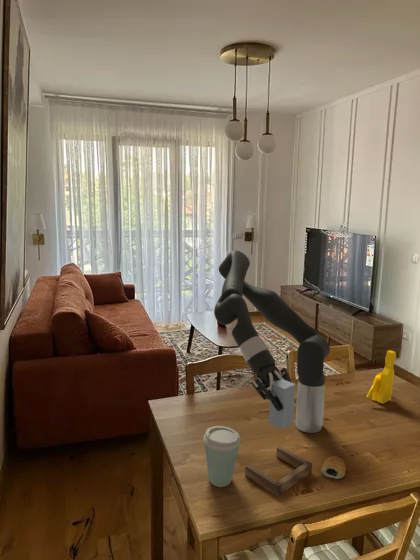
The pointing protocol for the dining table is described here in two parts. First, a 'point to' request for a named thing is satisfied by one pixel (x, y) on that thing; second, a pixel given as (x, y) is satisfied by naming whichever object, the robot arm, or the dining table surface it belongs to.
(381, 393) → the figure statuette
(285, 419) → the slate block
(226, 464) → the disposable coffee cup
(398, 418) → the dining table surface
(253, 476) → the walnut bay
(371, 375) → the dining table surface
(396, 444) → the dining table surface
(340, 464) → the pastry
